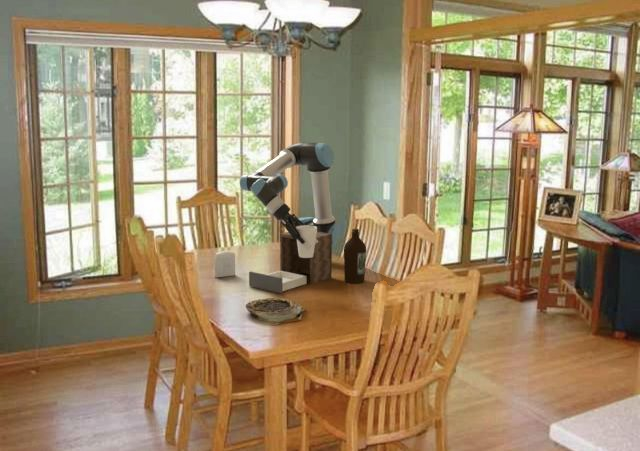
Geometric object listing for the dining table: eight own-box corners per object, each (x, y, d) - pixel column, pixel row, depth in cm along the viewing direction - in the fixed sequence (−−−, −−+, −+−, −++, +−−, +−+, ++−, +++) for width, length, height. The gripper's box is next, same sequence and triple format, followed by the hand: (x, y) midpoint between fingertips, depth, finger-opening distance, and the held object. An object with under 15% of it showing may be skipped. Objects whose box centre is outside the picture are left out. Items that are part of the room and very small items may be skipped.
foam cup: (314, 259, 285) (314, 229, 282) (293, 258, 286) (293, 229, 284) (318, 254, 294) (318, 225, 292) (297, 253, 295) (297, 225, 293)
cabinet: (300, 271, 329) (300, 229, 325) (331, 277, 317) (331, 233, 313) (280, 277, 317) (280, 233, 313) (312, 283, 305) (312, 238, 301)
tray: (277, 277, 315) (277, 263, 314) (309, 284, 304) (309, 270, 302) (249, 286, 299) (249, 271, 298) (280, 293, 288) (280, 278, 287)
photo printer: (232, 273, 323) (232, 249, 320) (236, 275, 319) (236, 250, 317) (213, 276, 317) (213, 251, 315) (217, 278, 313) (216, 253, 311)
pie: (248, 329, 242) (248, 316, 241) (228, 310, 267) (228, 298, 266) (318, 320, 253) (318, 308, 253) (292, 302, 278) (292, 291, 277)
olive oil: (338, 281, 310) (339, 229, 306) (351, 277, 318) (352, 226, 314) (357, 285, 304) (359, 232, 300) (369, 280, 312) (371, 228, 308)
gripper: (281, 210, 301) (314, 246, 300) (264, 218, 280) (299, 257, 279) (292, 199, 299) (325, 235, 298) (275, 206, 278) (311, 245, 277)
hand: (312, 245), depth 288 cm, fingers closed on foam cup, 9 cm apart
